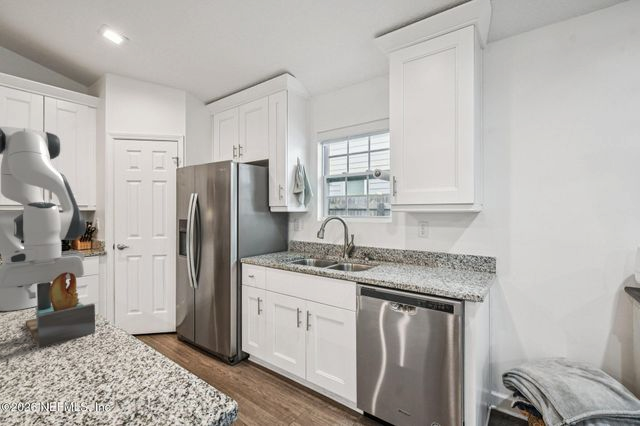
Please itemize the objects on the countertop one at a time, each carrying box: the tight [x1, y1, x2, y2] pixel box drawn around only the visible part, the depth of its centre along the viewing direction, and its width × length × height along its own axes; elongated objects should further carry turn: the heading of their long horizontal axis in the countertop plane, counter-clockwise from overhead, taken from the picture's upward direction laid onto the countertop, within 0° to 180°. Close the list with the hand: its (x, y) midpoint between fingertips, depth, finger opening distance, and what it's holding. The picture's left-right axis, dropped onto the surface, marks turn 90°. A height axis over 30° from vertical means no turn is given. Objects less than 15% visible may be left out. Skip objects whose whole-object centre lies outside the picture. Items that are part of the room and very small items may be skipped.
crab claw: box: [49, 272, 80, 311], centre depth 92 cm, size 7×5×20 cm
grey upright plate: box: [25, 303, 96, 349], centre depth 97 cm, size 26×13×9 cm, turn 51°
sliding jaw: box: [35, 282, 84, 328], centre depth 96 cm, size 7×10×14 cm
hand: (44, 296), depth 94 cm, fingers open, 4 cm apart
